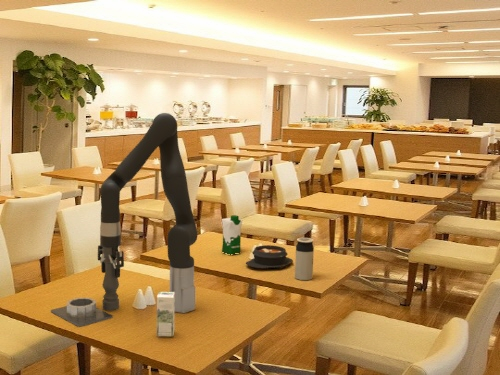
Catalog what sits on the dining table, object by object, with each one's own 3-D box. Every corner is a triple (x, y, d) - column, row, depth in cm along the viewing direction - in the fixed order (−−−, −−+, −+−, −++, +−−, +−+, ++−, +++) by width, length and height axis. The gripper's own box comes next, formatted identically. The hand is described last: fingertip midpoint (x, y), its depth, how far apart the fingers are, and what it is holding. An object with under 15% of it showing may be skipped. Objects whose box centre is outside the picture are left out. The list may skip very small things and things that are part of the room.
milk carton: (229, 256, 321) (230, 217, 318) (219, 252, 328) (219, 214, 325) (243, 254, 327) (244, 216, 323) (232, 250, 333) (233, 213, 330)
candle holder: (102, 311, 239) (102, 247, 235) (102, 306, 245) (101, 243, 241) (119, 310, 241) (119, 246, 237) (118, 304, 247) (118, 242, 243)
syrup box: (174, 330, 223) (175, 291, 220) (173, 337, 217) (173, 296, 214) (158, 330, 222) (158, 290, 220) (156, 337, 217) (156, 296, 214)
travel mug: (292, 279, 286) (294, 240, 283) (297, 274, 293) (298, 236, 291) (310, 281, 283) (311, 242, 281) (314, 276, 291) (315, 238, 288)
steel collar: (112, 317, 233) (112, 305, 233) (78, 327, 224) (78, 314, 223) (84, 303, 247) (83, 291, 246) (50, 311, 237) (50, 299, 237)
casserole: (262, 274, 292) (263, 257, 291) (237, 265, 306) (237, 248, 305) (301, 266, 308) (302, 249, 307) (275, 257, 322) (276, 241, 321)
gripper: (129, 235, 236) (129, 277, 239) (108, 228, 246) (108, 268, 249) (112, 238, 231) (112, 281, 233) (91, 231, 241) (91, 272, 243)
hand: (110, 274), depth 241 cm, fingers open, 8 cm apart
